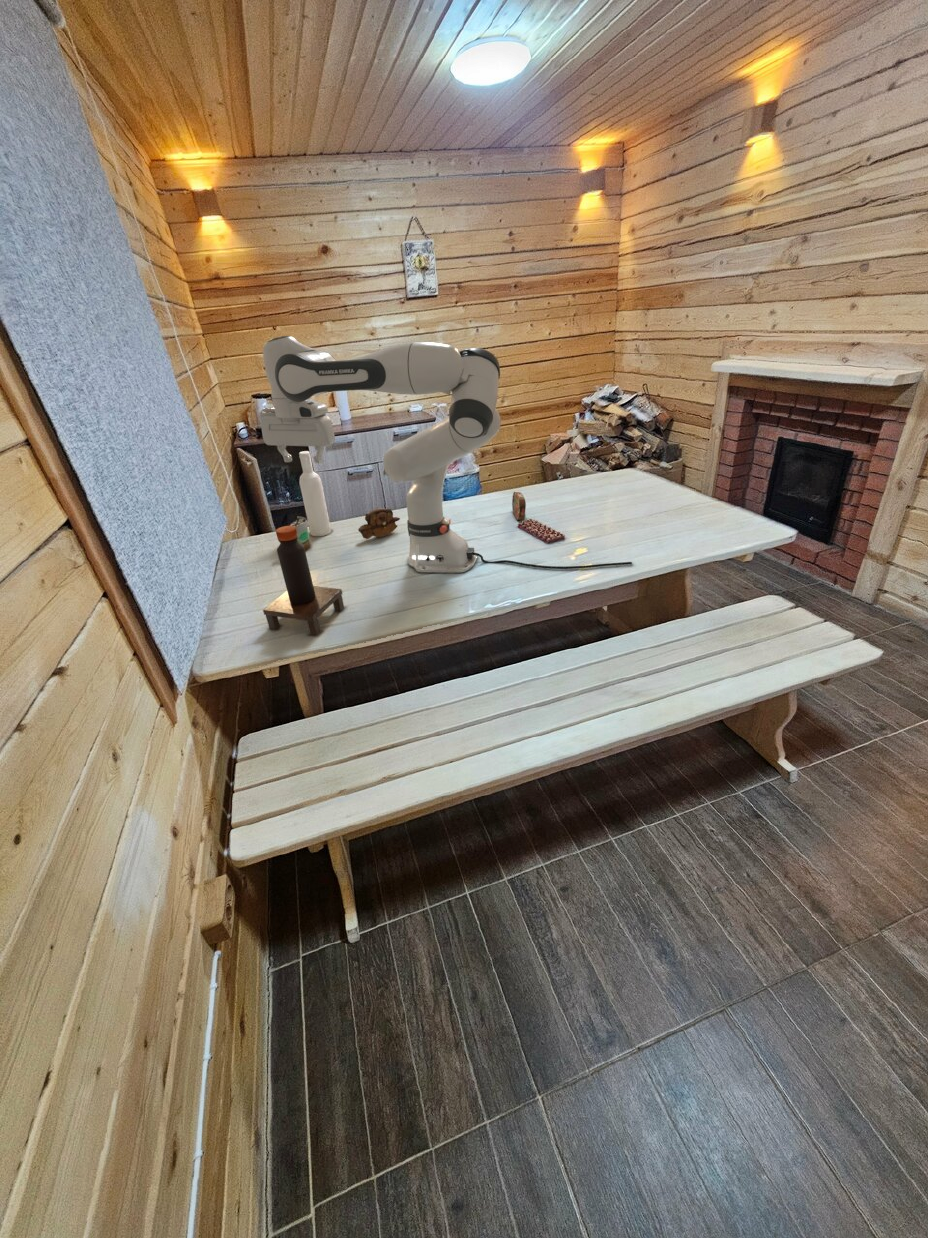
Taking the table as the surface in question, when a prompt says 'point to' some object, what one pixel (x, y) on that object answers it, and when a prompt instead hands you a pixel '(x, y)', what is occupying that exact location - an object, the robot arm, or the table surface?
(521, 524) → the chocolate bar
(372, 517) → the wooden carving
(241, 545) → the table surface
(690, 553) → the table surface
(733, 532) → the table surface
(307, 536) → the food container
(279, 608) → the stand
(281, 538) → the vinegar
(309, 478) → the bottle
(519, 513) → the tin
